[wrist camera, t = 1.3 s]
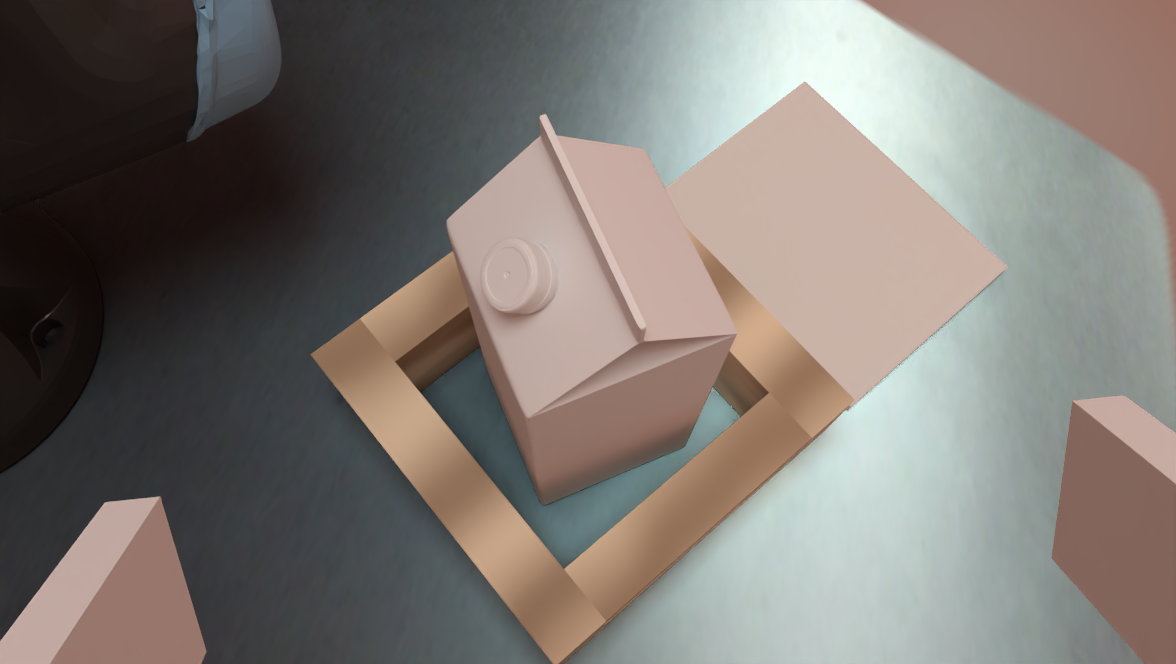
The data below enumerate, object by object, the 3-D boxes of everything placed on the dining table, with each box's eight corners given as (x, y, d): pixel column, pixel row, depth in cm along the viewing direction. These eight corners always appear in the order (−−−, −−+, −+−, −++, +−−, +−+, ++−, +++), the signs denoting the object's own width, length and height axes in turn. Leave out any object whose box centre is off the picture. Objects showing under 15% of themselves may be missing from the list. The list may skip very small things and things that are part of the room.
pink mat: (648, 205, 47) (649, 199, 46) (802, 88, 50) (804, 81, 49) (847, 410, 43) (850, 406, 43) (1002, 272, 46) (1007, 267, 45)
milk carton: (623, 314, 45) (654, 74, 27) (686, 447, 43) (764, 280, 25) (485, 368, 44) (424, 155, 26) (542, 507, 42) (516, 378, 24)
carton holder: (339, 389, 43) (310, 354, 39) (600, 195, 47) (602, 142, 42) (557, 668, 39) (555, 666, 34) (824, 430, 43) (854, 399, 38)
